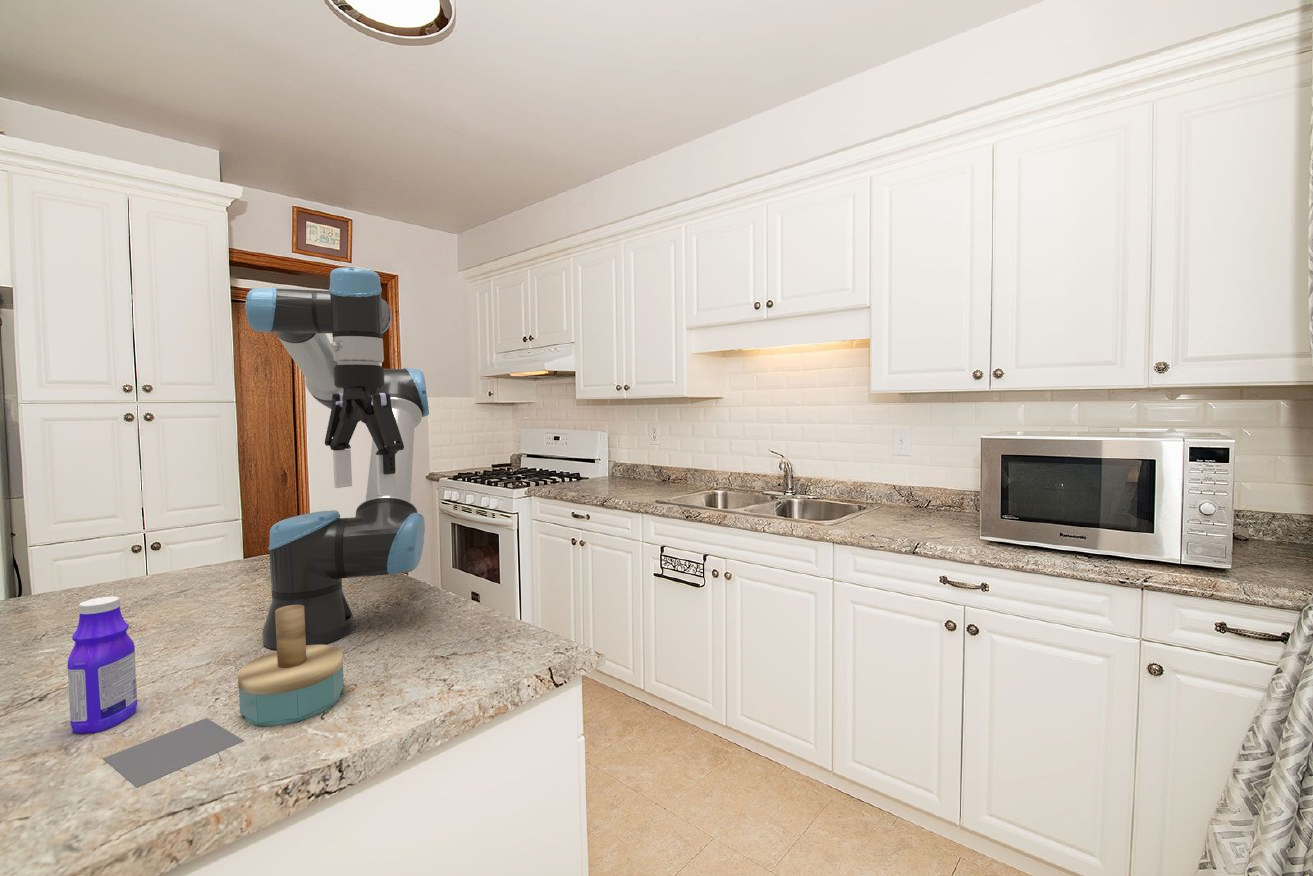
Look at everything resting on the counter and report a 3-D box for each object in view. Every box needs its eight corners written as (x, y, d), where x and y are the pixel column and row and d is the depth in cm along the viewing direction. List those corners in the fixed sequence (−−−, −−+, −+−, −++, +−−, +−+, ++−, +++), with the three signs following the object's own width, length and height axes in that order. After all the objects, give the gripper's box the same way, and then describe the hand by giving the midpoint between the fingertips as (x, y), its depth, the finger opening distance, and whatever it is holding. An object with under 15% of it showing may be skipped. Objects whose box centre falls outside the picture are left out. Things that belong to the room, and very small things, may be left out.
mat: (102, 761, 73) (102, 758, 73) (206, 720, 83) (206, 717, 83) (137, 790, 68) (137, 787, 68) (244, 743, 77) (244, 740, 77)
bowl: (228, 713, 84) (226, 679, 84) (313, 680, 95) (312, 649, 94) (271, 737, 78) (269, 700, 78) (357, 698, 88) (356, 666, 88)
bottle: (106, 710, 86) (98, 593, 85) (148, 708, 86) (141, 591, 85) (60, 739, 78) (51, 610, 77) (106, 736, 79) (97, 608, 78)
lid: (220, 680, 84) (217, 614, 84) (313, 647, 95) (311, 589, 95) (266, 703, 77) (263, 632, 77) (361, 665, 88) (358, 603, 88)
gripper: (299, 365, 102) (305, 487, 104) (379, 360, 88) (384, 500, 90) (342, 367, 108) (347, 481, 110) (423, 362, 94) (428, 493, 96)
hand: (364, 490), depth 100 cm, fingers open, 13 cm apart
